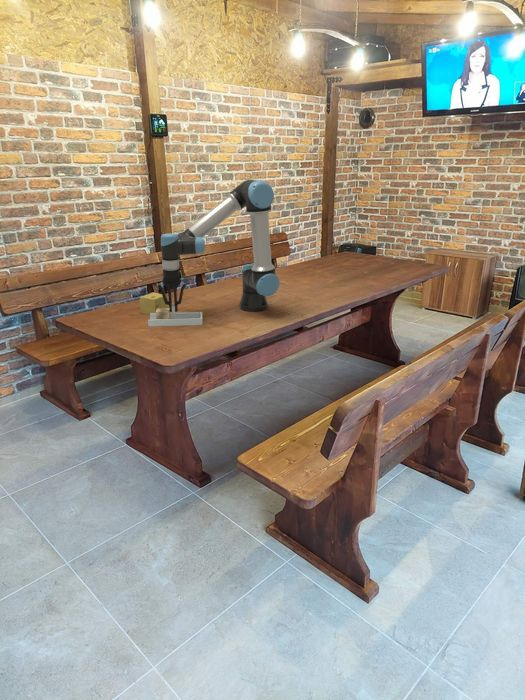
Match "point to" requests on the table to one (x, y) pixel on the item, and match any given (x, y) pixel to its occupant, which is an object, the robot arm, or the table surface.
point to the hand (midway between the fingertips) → (174, 318)
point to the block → (163, 313)
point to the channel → (177, 319)
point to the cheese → (152, 303)
